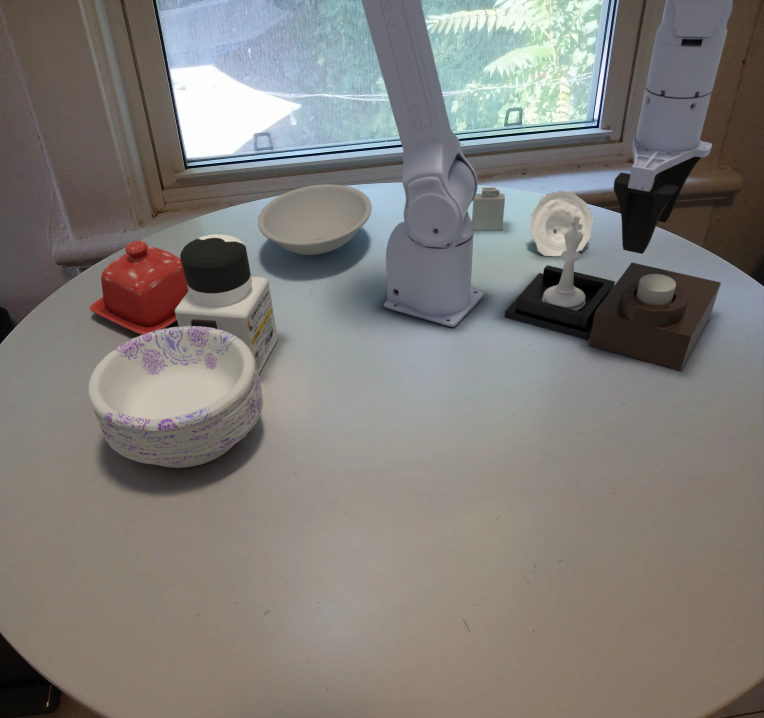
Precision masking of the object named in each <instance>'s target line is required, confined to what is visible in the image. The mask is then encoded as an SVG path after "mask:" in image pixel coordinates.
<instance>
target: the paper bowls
mask: <svg viewBox="0 0 764 718" xmlns="http://www.w3.org/2000/svg"><path fill="white" fill-rule="evenodd" d="M87 397H88V401H89V404H90V406H91V408H92V410H93V413H94V415H95V417H96V419H97V421H98V423H99V427H100V430H101V432H102V435H103V436H104V437H103V438H104V439H105V441H106V443H107V444H108V445H109V447H110V448H111V450H114V451H115V452H116V453H118V454H119V455H120V456H122V457H124V458H126V459H130V461H131V460H132V461H136V462H137V463H141V464H148V465H157V466H160V467H165V468H173V469H174V468H175V469H183V468H184V469H185V468H191V467H197V466H201V465H204V464H206V463H209V462H212V461H214V460H217V458H219V457H221V456H223V455H224V454H225V453H227V452H228V451H230V450H231V448H232V447H234V445H235V444H237V443H238V442H240V441H241V440H243V438H245V437H246V436H247V434H249V432H250V431H251V430H252V429H253V428H254V427H255V425H256V423H257V422H258V421H259V419H260V416H261V415H262V411H263V408H264V399H263V391H262V385H261V381H260V376H259V374H258V372H257V369H256V362H255V359H254V356H253V354H252V352H251V350H250V349H249V347H248V346H247V345H246V344H245V343H244V342H243V341H242V340H241V339H239V338H238V337H236V336H234V335H232V334H231V333H228V332H226V331H223V330H219V329H215V328H210V327H202V326H182V327H179V326H173V327H166V328H164V329H162V330H157V331H153V332H150V333H147V334H144V335H141V334H140V335H138V336H136V337H134V338H131V339H129V340H127V341H125V342H123V343H121V344H120V345H119V346H116V348H114V349H113V350H111V351H109V353H107V354H106V355H105V356H104V357H103V358H102V359H101V360H100V361H99V363H98V364H97V365H96V367H94V369H93V371H92V372H91V375H90V377H89V380H88V384H87Z"/></svg>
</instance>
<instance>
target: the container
mask: <svg viewBox="0 0 764 718" xmlns="http://www.w3.org/2000/svg"><path fill="white" fill-rule="evenodd" d="M179 258H180V259H181V262H182V266H183V270H184V274H185V278H186V282H187V286H188V290H189V291H188V293H187V294H186V295H185V297H184V298H183V299H182V301H181V302H180V303H179V305H178V306H177V307H176V309H175V314H176V318H177V324H178V327H182V326H202V327H210V328H215V329H219V330H223V331H226V332H228V333H231V334H232V335H234V336H236V337H238V338H239V339H241V340H242V341H243V342H244V343H245V344H246V345H247V346H248V347H249V349H250V350H251V352H252V354H253V356H254V359H255V362H256V369H257V372H258V375H260V372H261V370H263V367H264V365H265V364H266V361H267V360H268V358H269V356H270V354H271V352H272V350H273V348H274V347H275V345H276V343H277V341H278V339H279V337H278V332H277V331H278V330H277V324H276V319H275V312H274V306H273V300H272V295H271V288H270V281H269V279H268V278H267V277H263V276H252V272H251V268H250V262H249V257H248V251H247V246H246V244H245V242H243V241H242V240H240V239H239V238H238V237H236V236H233V235H228V234H218V233H217V234H216V233H215V234H207V235H203V236H200V237H197V238H195V239H194V240H191V241H190V242H188V243H187V244H186V245H184V247H183V248H182V250H181V252H180V254H179Z"/></svg>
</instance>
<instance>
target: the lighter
mask: <svg viewBox="0 0 764 718" xmlns="http://www.w3.org/2000/svg"><path fill="white" fill-rule="evenodd" d="M505 203H506V194H505V193H501V192H500V190H499V189H497V188H496V187H482V188H481V193H476V195H475V197H474V200H473V201H472V215H471V221H472V223H473V226H474V231H503V227H504V217H505V215H504V214H505Z"/></svg>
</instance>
